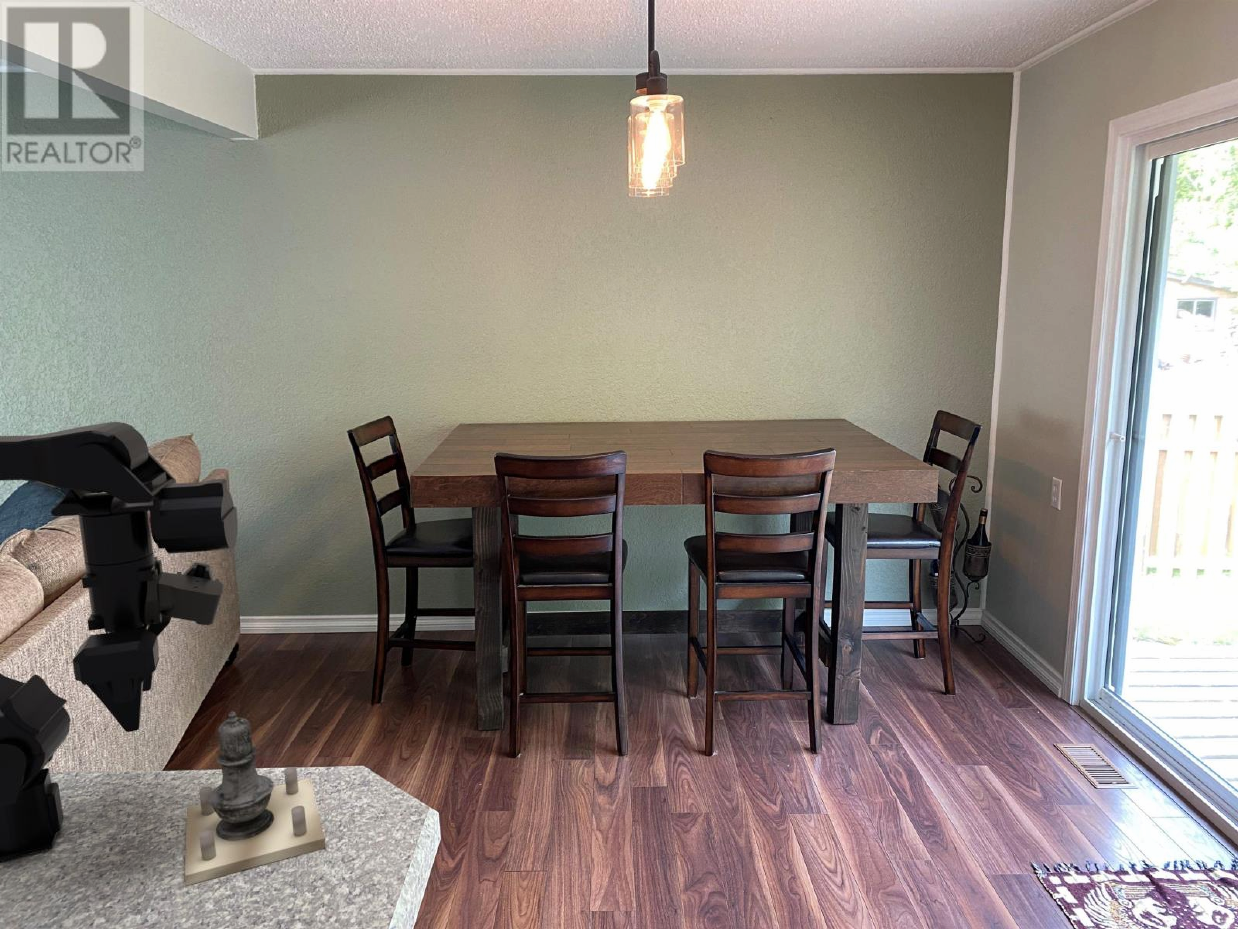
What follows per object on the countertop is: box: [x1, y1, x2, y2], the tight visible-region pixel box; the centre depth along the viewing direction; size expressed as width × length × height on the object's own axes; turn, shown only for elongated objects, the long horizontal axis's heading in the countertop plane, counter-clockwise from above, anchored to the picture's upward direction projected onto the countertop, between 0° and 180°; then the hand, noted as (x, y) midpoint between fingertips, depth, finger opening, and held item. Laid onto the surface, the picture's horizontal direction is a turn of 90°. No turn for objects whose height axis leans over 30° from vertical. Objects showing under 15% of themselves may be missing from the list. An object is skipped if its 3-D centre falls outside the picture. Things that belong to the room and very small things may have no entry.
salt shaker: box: [209, 710, 275, 841], centre depth 85 cm, size 6×6×12 cm
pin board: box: [184, 766, 326, 886], centre depth 86 cm, size 12×12×4 cm
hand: (139, 709), depth 86 cm, fingers open, 9 cm apart
